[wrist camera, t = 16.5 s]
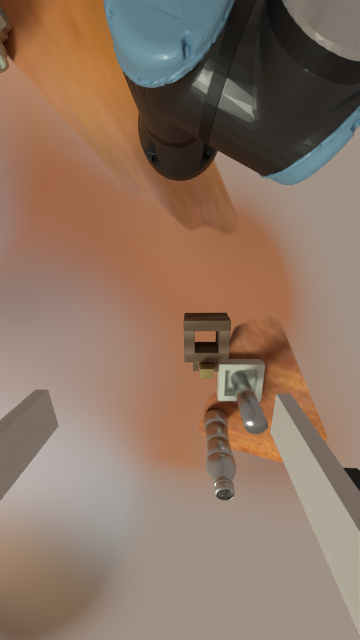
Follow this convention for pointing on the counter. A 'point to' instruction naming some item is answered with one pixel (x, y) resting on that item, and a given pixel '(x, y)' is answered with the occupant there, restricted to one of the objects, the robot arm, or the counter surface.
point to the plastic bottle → (219, 454)
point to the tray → (247, 366)
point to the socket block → (207, 349)
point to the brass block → (206, 370)
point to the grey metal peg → (248, 404)
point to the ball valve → (3, 39)
